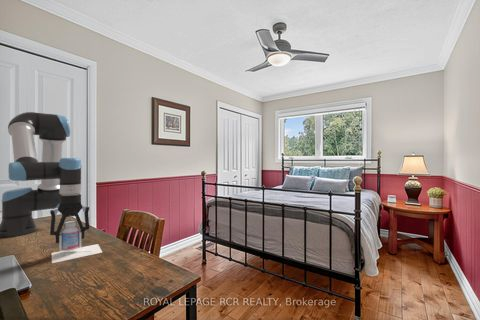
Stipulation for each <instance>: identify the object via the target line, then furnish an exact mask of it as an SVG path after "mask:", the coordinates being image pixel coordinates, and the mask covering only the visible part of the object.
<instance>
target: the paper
mask: <svg viewBox="0 0 480 320" xmlns="http://www.w3.org/2000/svg"><path fill="white" fill-rule="evenodd" d="M101 248H102V247H100V245H99V244H98V243H97V244H92V245H91V244H90V245H86V246H81V247H80V248H79V247H78V248H77V249H75V250H71V251H63V250H62V251H60V252H59V251H55V252H51V264H56V263H61V262H66V261H70V260H71V261H72V260H74V259H81V258H84V257H90V256H93V255H98V254H99V255H100V254H102V253H103V251H102V249H101Z"/></svg>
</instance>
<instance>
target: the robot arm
mask: <svg viewBox="0 0 480 320" xmlns="http://www.w3.org/2000/svg"><path fill="white" fill-rule="evenodd" d="M70 126H71V125H70V122H69V119H68V118H67V116H65V115H61V114H52V113H45V112H44V113H43V112H42V113H41V112H33V111H28V112H27V111H26V112H22V113H20V114H18V115H15V116H14V117H13V118H12V119H11V120H10V121H9V123H8V125H7V131H8V134H9V135H10V136H11V142H12V152H13V153H12V154H13V161H14V162H9V163H8V169H7V170H8V173H7V174H8V180H9V181H13V182H15V181H16V182H19V181H20V182H25V181H40V184H38V185H37V189H33V188H32V187H30V186H29V187H21V188H16V189H15V188H14V189H9V190H7V191H4V192H3V193H2V196H1V222H0V238H11V237H17V236H18V237H19V236H25V235H27V234H31V233H33V232H36V230H37V224H36V223H35V220H34V217H33V212H35V211H36V212H37V211H45V210H50V211H49V213H50V216H51V220H50V230H49V235H50V236H55V244H58V252H60V251H63V250H62V229H63V227H64V223H65V221H66V219H67V217H75V219H76V221H77V225H78V228H79V247H78V248H80V247H82V240H84V239H85V232H86V231H87V230H89V229H90V220H89V219H90V217H89V211H90V206H87V205H86V206H85V205H83V204H82V194H81V193H82V166H83V165H82V160H81V158H80V157H63V143H64V142H66V141H67V138H68V137H70V136H71V127H70ZM34 136H38V139H39V141H41V142H42V150H41V152H42V153H41V156H42V157H41V161H39V159H38V155H37V149H36V144H35V138H34ZM81 210H82V211H83V213H84V225H85V226H84V225H83V223H82V220H81V218H80V216H79V213H80V211H81ZM58 212H59V213H60V214H61V218H60V220H59V223H58V225H57V228H56V231H55V227H56V226H55V224H56V215H58Z"/></svg>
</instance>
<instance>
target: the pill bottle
mask: <svg viewBox="0 0 480 320" xmlns="http://www.w3.org/2000/svg"><path fill="white" fill-rule="evenodd" d="M77 225H78V222H77V220H75V221H74V220H72V221H71V220H70V221H66V222H65V221H64V224H63V228H62V229H61V234H62V251H71V250H75V249H77V248H79V231H80V227H79V226H77Z"/></svg>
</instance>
